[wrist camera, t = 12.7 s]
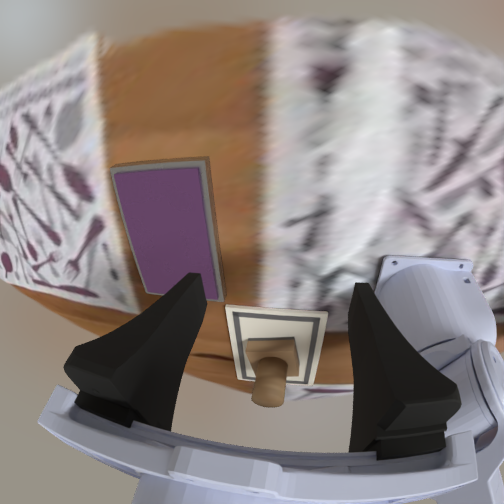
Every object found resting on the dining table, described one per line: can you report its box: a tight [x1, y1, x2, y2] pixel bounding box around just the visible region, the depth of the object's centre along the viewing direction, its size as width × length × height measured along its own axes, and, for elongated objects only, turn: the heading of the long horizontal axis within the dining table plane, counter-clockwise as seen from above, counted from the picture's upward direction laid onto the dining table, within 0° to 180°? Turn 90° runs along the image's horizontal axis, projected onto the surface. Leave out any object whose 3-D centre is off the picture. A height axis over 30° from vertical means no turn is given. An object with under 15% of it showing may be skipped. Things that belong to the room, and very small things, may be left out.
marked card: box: [225, 304, 328, 386], centre depth 31 cm, size 10×14×1 cm
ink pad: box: [110, 157, 227, 302], centre depth 24 cm, size 8×13×1 cm, turn 3°
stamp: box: [245, 337, 300, 407], centre depth 28 cm, size 5×5×6 cm
